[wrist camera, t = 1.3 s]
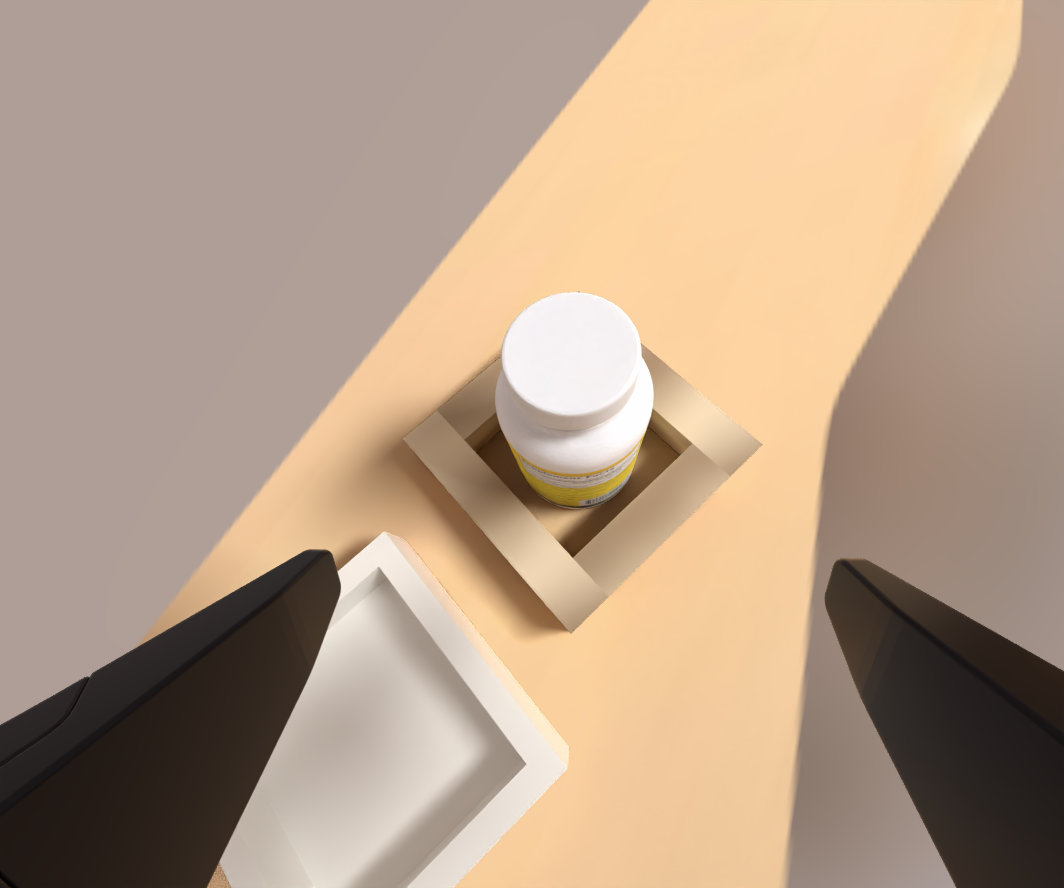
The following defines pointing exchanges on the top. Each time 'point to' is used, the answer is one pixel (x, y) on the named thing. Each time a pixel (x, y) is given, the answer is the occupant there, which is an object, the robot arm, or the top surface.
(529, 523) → the wooden square frame
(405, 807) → the plastic tray
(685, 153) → the top surface
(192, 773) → the robot arm
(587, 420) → the supplement bottle
